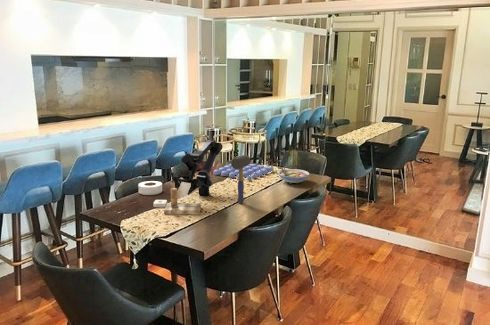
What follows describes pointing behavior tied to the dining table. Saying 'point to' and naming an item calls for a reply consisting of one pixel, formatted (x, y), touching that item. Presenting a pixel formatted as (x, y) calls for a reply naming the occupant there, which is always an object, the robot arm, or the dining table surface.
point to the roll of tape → (150, 187)
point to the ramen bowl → (293, 175)
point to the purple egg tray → (244, 171)
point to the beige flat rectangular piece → (183, 208)
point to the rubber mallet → (240, 173)
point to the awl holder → (160, 203)
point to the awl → (174, 198)
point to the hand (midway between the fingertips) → (181, 193)
